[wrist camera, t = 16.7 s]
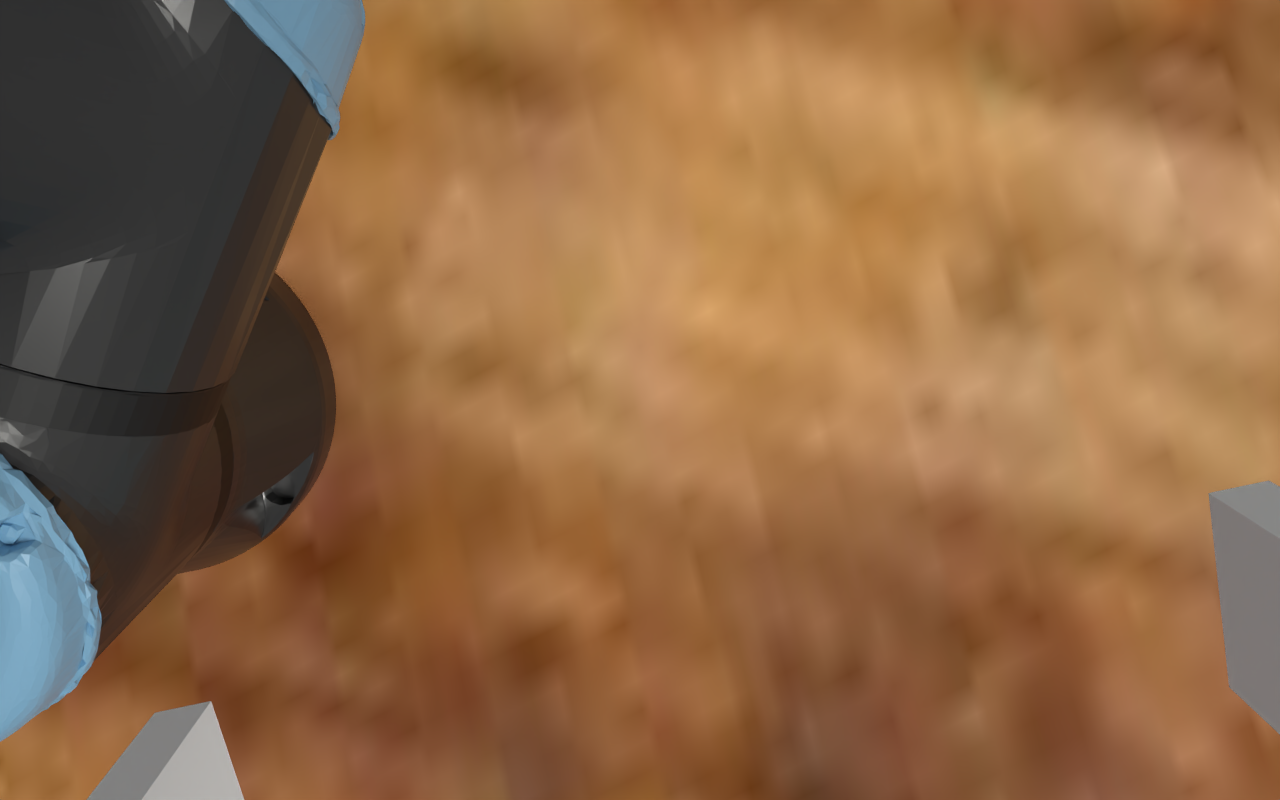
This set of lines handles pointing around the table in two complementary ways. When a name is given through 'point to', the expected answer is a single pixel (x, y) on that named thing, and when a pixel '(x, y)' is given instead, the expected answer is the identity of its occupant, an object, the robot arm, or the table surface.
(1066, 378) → the table surface
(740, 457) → the table surface
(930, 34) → the table surface
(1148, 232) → the table surface
